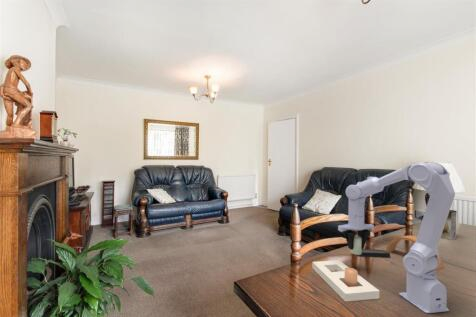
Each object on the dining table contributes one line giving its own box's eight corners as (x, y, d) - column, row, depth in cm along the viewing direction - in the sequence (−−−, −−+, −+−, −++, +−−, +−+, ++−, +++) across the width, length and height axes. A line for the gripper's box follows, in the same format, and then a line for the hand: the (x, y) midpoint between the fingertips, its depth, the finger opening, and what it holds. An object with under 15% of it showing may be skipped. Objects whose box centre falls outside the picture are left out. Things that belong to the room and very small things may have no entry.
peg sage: (363, 254, 90) (364, 238, 90) (354, 255, 89) (354, 238, 89) (357, 250, 94) (357, 234, 94) (348, 250, 93) (348, 235, 93)
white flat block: (379, 298, 73) (379, 290, 73) (345, 301, 71) (345, 293, 71) (339, 266, 95) (339, 260, 95) (312, 267, 93) (312, 261, 93)
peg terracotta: (359, 291, 77) (360, 273, 76) (349, 293, 76) (349, 274, 76) (351, 285, 81) (352, 267, 80) (341, 286, 80) (342, 267, 80)
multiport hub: (353, 253, 109) (353, 248, 109) (385, 254, 108) (385, 249, 108) (357, 257, 104) (357, 252, 104) (390, 258, 103) (390, 253, 103)
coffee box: (431, 235, 135) (431, 208, 135) (437, 233, 137) (437, 207, 137) (450, 240, 126) (451, 211, 126) (456, 238, 129) (456, 210, 129)
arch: (435, 271, 92) (435, 246, 92) (385, 252, 110) (386, 231, 110) (443, 268, 94) (443, 244, 94) (393, 250, 112) (393, 230, 112)
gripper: (365, 211, 96) (365, 243, 96) (333, 212, 94) (333, 245, 94) (378, 216, 89) (377, 250, 89) (344, 217, 87) (343, 252, 87)
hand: (355, 248), depth 91 cm, fingers closed on peg sage, 4 cm apart
